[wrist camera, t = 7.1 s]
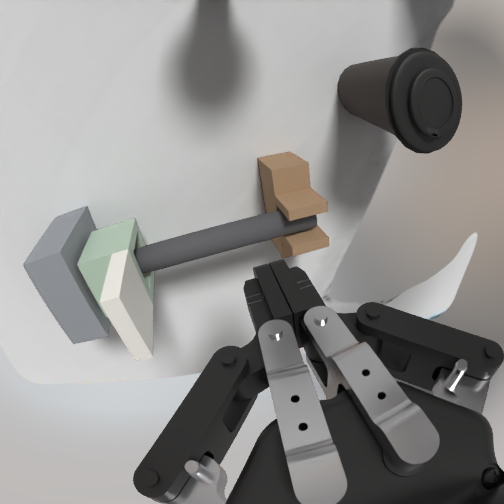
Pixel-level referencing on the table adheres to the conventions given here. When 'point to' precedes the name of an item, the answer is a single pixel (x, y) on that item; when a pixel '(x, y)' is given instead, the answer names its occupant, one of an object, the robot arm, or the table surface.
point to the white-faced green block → (121, 284)
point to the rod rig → (176, 244)
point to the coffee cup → (406, 97)
